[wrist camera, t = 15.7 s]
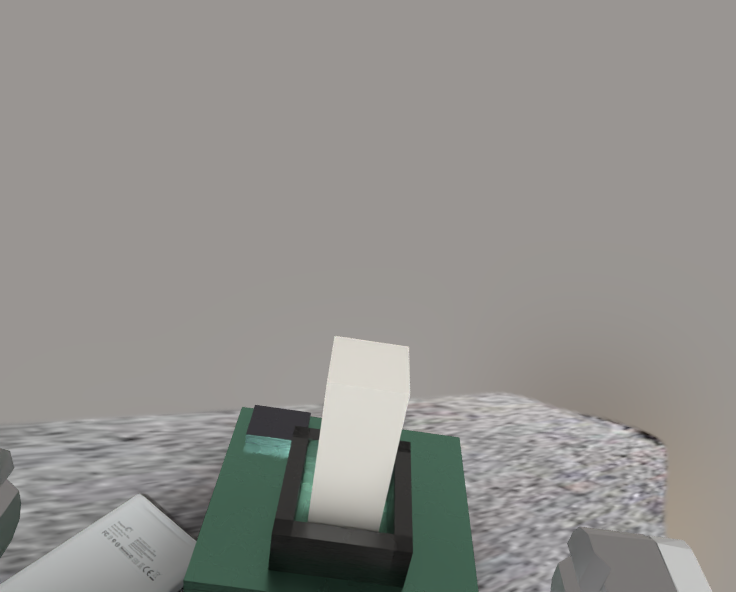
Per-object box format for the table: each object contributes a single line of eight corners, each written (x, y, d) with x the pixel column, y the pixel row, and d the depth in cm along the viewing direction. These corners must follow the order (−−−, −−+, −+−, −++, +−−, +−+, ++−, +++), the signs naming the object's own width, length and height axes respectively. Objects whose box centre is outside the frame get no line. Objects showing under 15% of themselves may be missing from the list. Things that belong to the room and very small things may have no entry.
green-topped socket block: (184, 674, 37) (183, 543, 31) (237, 493, 49) (244, 374, 43) (447, 707, 37) (495, 584, 31) (435, 520, 50) (468, 406, 44)
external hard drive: (-32, 621, 38) (139, 504, 47) (41, 713, 35) (212, 567, 44) (-37, 605, 37) (138, 490, 47) (37, 698, 34) (212, 552, 43)
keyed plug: (303, 547, 35) (326, 382, 29) (313, 483, 39) (335, 327, 33) (373, 556, 35) (410, 394, 29) (375, 491, 39) (408, 338, 34)
